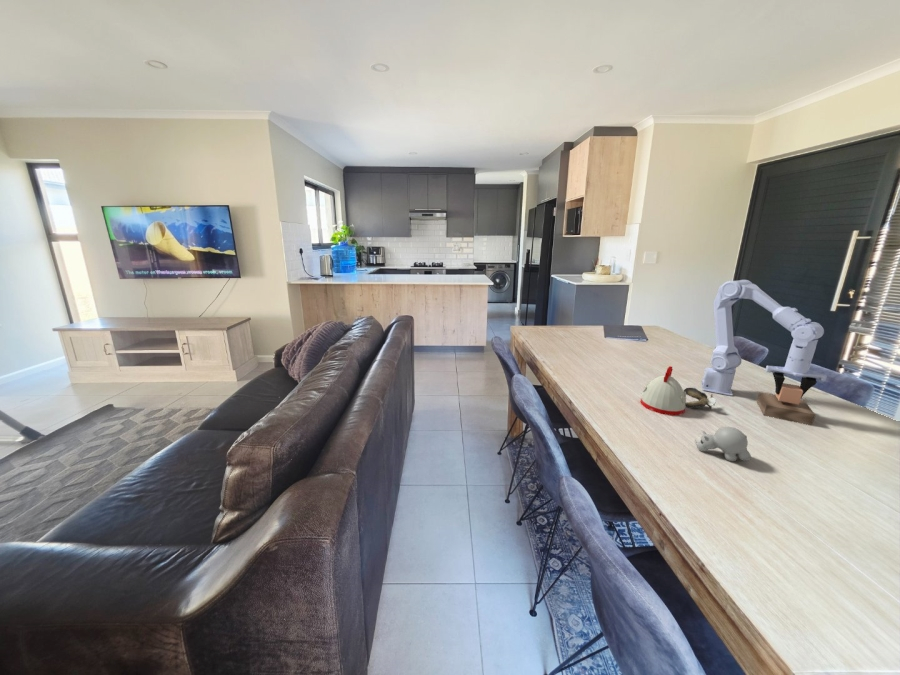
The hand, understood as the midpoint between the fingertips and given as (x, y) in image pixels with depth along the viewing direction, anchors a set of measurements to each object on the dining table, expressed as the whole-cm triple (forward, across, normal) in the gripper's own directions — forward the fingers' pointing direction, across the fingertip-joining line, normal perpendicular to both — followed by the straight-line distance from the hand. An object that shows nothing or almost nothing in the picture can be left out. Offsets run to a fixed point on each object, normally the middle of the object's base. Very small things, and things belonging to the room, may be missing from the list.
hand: (787, 395), depth 117 cm
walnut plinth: (+7, 0, 0) cm, 7 cm away
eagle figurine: (+7, -25, -10) cm, 28 cm away
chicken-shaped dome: (+7, -36, -17) cm, 40 cm away
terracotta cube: (+2, 0, 0) cm, 2 cm away
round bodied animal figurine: (+7, -21, -42) cm, 48 cm away
